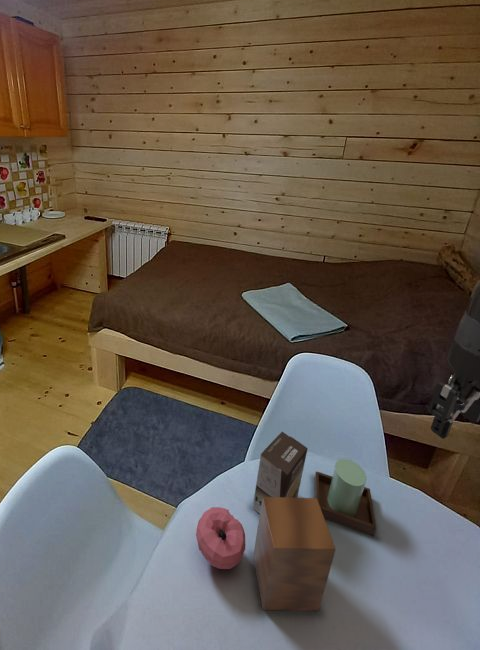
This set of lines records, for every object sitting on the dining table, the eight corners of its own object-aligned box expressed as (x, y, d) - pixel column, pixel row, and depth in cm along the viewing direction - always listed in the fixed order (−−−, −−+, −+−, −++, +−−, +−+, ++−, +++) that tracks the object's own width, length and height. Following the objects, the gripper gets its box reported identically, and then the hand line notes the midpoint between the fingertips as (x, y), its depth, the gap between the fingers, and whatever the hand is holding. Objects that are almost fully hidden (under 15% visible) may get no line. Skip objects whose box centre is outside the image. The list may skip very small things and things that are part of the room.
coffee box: (277, 530, 72) (287, 476, 67) (251, 507, 77) (259, 454, 71) (297, 499, 79) (308, 447, 73) (273, 480, 83) (281, 429, 78)
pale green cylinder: (341, 485, 81) (349, 454, 78) (363, 511, 76) (373, 479, 73) (321, 495, 79) (328, 464, 76) (343, 523, 74) (352, 490, 70)
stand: (303, 557, 68) (316, 497, 62) (318, 611, 61) (335, 549, 55) (253, 556, 68) (262, 496, 62) (262, 610, 60) (274, 547, 55)
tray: (367, 496, 80) (369, 488, 79) (373, 536, 72) (376, 528, 71) (314, 478, 83) (315, 471, 83) (314, 514, 76) (316, 506, 75)
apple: (251, 561, 67) (256, 527, 64) (222, 599, 62) (226, 564, 58) (215, 521, 74) (218, 488, 71) (186, 551, 69) (187, 517, 65)
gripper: (487, 371, 46) (452, 459, 52) (542, 348, 51) (505, 430, 57) (430, 341, 53) (404, 421, 58) (484, 323, 58) (455, 398, 63)
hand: (454, 426), depth 57 cm, fingers open, 8 cm apart
